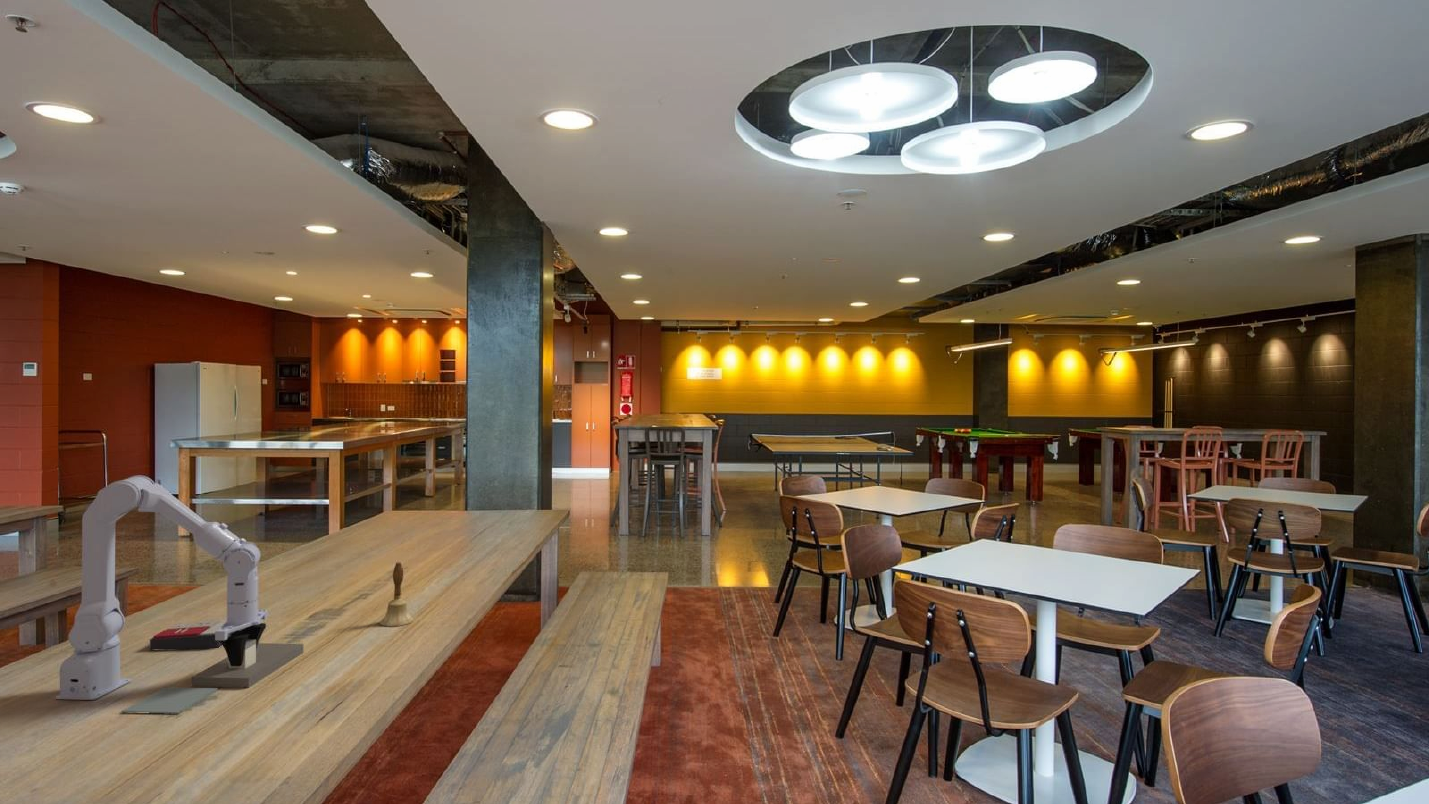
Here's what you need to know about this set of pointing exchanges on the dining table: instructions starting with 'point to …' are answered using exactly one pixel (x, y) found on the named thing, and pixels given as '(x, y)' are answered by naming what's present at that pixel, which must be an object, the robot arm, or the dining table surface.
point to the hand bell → (397, 603)
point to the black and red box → (188, 636)
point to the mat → (170, 700)
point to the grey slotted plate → (266, 663)
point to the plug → (247, 655)
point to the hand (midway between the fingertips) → (242, 661)
